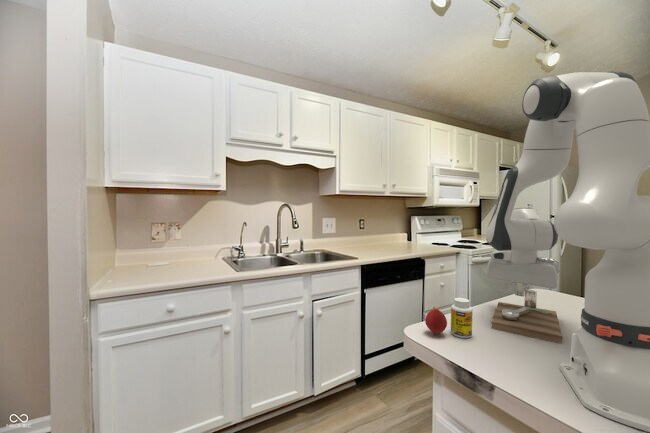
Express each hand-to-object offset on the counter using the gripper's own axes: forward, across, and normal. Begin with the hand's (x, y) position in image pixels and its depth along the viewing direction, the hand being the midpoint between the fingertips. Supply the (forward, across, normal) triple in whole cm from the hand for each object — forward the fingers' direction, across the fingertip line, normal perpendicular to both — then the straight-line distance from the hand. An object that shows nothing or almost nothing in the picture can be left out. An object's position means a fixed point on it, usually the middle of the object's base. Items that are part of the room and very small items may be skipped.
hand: (519, 295), depth 97 cm
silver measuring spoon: (+4, -1, +7) cm, 8 cm away
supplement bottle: (+6, +9, +30) cm, 32 cm away
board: (+6, -3, +7) cm, 10 cm away
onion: (+6, +14, +35) cm, 38 cm away
